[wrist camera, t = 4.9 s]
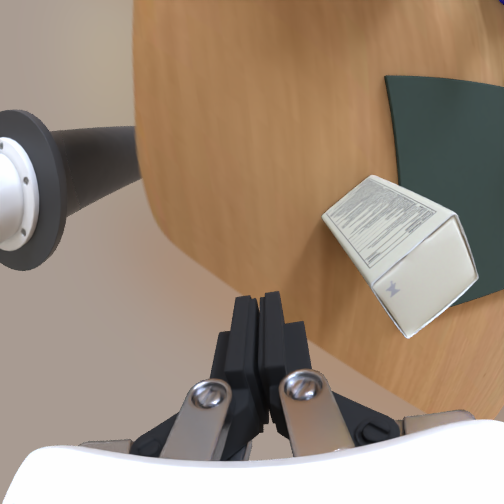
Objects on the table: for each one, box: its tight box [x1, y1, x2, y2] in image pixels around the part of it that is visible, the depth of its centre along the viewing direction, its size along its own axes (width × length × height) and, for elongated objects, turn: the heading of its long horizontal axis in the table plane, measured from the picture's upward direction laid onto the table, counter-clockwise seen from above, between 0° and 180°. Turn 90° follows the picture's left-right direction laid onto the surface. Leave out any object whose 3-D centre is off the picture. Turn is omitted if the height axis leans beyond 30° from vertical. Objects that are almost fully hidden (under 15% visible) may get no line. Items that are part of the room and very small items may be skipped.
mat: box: [384, 76, 504, 307], centre depth 19 cm, size 16×20×1 cm
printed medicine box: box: [321, 175, 478, 338], centre depth 16 cm, size 5×4×10 cm
